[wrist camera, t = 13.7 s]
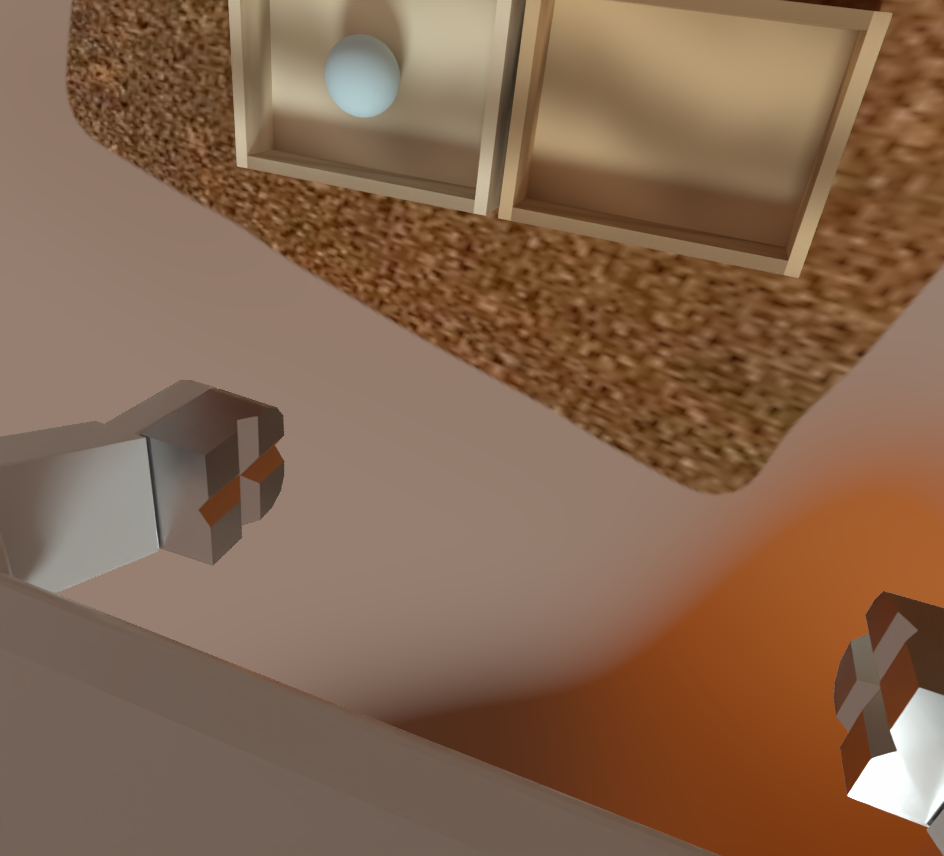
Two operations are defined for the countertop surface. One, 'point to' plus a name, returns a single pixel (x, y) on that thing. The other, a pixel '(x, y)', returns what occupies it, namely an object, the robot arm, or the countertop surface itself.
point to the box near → (686, 122)
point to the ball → (362, 75)
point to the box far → (406, 120)
